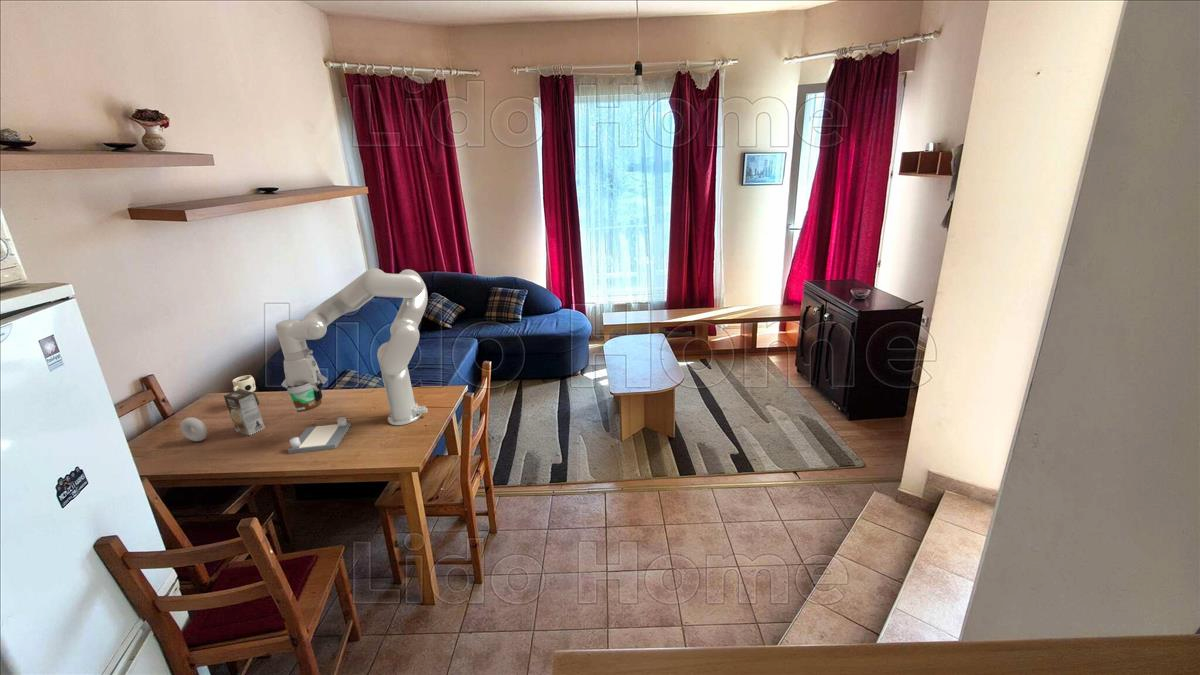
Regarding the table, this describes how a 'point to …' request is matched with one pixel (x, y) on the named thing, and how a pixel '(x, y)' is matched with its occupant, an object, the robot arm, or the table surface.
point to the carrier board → (319, 437)
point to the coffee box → (244, 412)
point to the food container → (304, 397)
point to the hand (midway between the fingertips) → (310, 400)
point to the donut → (197, 425)
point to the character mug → (245, 384)
